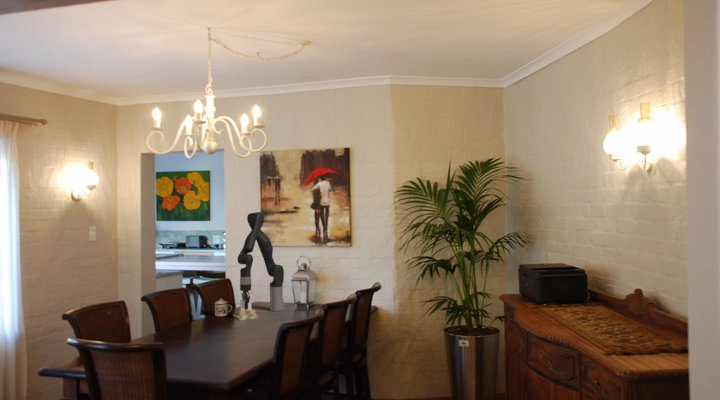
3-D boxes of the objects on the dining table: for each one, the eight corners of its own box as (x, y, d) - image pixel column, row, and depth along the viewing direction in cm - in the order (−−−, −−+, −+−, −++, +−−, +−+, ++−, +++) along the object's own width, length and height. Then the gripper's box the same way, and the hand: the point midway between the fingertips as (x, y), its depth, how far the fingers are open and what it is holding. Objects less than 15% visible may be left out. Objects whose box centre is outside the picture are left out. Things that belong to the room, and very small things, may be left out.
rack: (252, 314, 396) (252, 307, 396) (259, 318, 381) (259, 310, 381) (232, 316, 390) (232, 309, 390) (239, 320, 375) (238, 312, 375)
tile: (250, 314, 388) (250, 299, 388) (251, 314, 386) (251, 300, 386) (240, 314, 385) (240, 300, 385) (241, 315, 383) (241, 300, 383)
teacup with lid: (213, 316, 389) (213, 299, 390) (216, 314, 398) (215, 297, 399) (231, 316, 390) (230, 299, 390) (233, 313, 399) (232, 297, 400)
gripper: (253, 283, 381) (254, 309, 381) (248, 281, 394) (248, 306, 393) (242, 284, 378) (243, 310, 378) (237, 282, 390) (237, 307, 390)
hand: (245, 308), depth 386 cm, fingers closed on tile, 2 cm apart
